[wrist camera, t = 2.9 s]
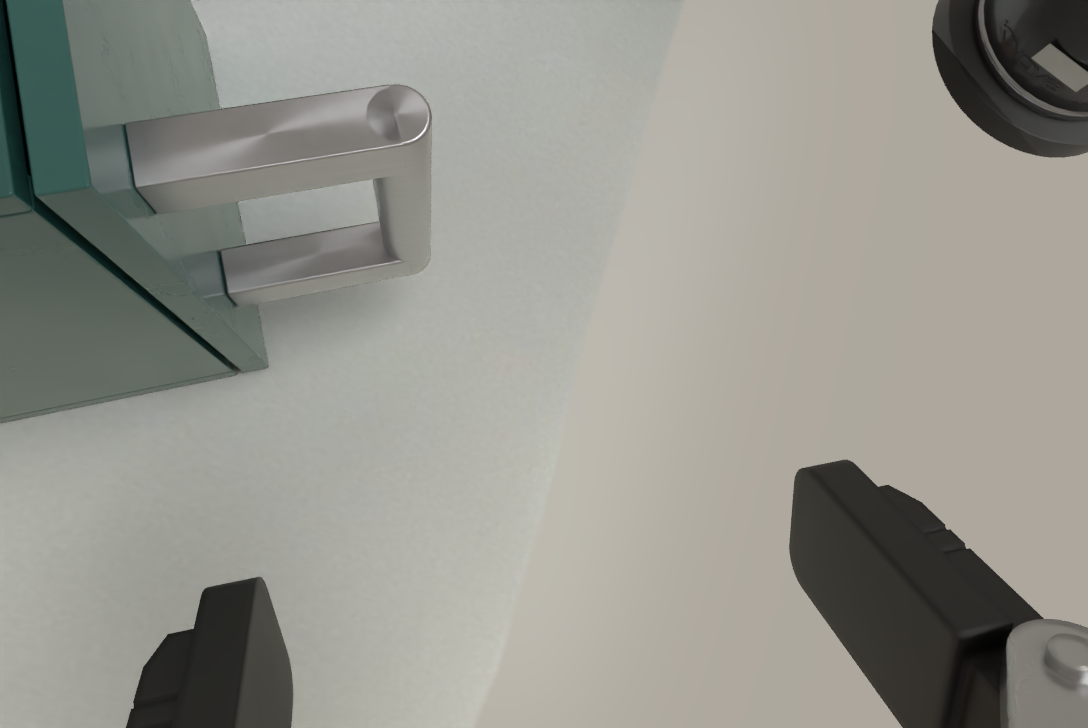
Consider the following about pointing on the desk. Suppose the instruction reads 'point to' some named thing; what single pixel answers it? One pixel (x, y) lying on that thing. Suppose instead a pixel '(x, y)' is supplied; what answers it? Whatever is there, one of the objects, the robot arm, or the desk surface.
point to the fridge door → (208, 164)
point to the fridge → (74, 300)
